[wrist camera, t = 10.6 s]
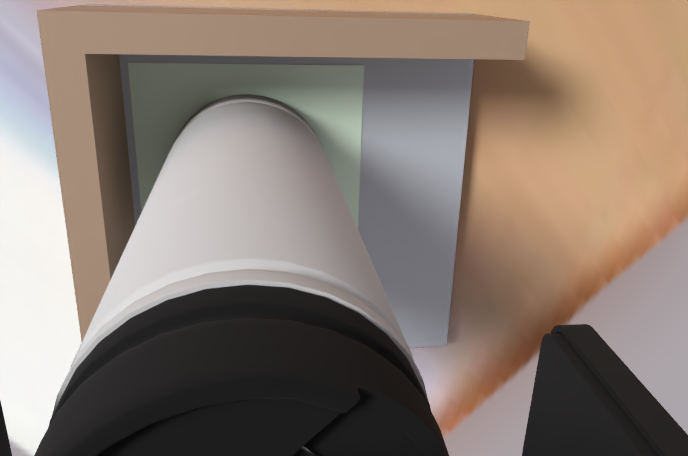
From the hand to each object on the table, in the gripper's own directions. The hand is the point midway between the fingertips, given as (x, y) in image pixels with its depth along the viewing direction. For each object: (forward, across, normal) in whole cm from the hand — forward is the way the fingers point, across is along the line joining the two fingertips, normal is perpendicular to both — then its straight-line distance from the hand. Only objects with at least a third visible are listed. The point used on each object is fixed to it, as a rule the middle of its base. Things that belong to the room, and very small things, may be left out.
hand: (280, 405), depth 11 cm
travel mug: (+16, +1, +1) cm, 16 cm away
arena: (+17, -1, +2) cm, 17 cm away
